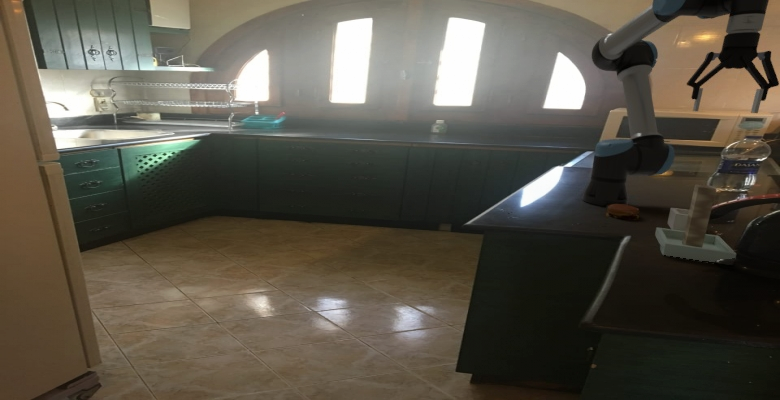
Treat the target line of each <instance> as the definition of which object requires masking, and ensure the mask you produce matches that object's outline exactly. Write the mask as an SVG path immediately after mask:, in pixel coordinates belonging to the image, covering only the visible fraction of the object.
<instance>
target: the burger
mask: <svg viewBox="0 0 780 400" xmlns="http://www.w3.org/2000/svg"><path fill="white" fill-rule="evenodd" d="M639 213H640V209H639V208H638V207H636V206H633V205H629V204H628V205H625V204H611V205H607V210H606V212H605V218H608V219H609V217H612V218H614V219H618V220H626V221H631V220H632V221H637V220H639V219H640V218H639V217H640V216H639Z"/></svg>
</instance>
